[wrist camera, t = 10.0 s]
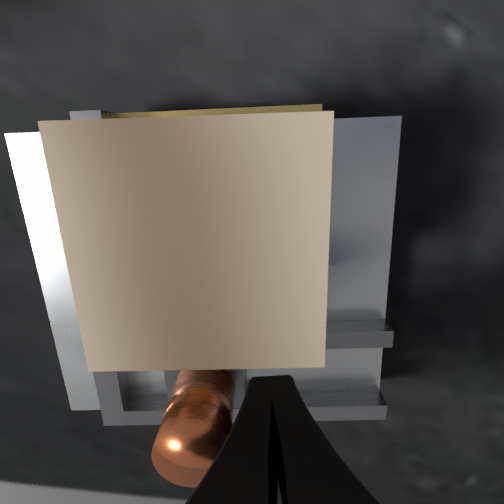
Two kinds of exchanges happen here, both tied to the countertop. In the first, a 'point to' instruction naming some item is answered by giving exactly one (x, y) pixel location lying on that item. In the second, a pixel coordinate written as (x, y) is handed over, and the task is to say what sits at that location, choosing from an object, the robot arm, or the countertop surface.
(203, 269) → the beech block
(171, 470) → the lever
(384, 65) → the countertop surface
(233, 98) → the countertop surface
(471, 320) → the countertop surface
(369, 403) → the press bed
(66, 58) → the countertop surface
